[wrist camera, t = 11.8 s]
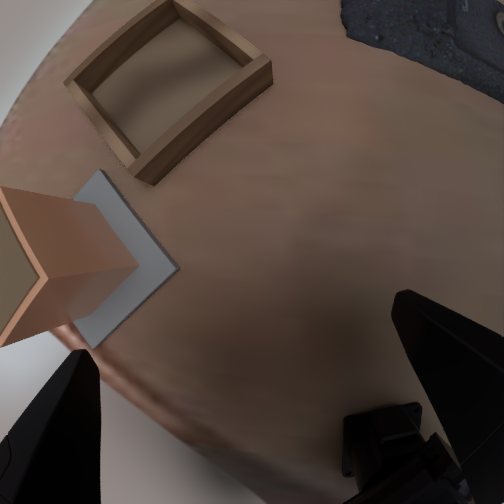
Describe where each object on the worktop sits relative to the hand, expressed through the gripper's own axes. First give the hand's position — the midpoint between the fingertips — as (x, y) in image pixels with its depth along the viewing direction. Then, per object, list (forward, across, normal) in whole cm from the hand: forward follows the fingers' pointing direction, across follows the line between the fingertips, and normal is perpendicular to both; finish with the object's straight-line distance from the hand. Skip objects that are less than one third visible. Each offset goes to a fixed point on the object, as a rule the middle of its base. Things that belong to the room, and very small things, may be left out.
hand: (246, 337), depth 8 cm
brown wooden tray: (+21, +2, -6) cm, 22 cm away
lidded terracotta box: (+15, +10, +5) cm, 19 cm away
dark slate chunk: (+19, -24, -12) cm, 33 cm away
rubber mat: (+16, +10, +5) cm, 19 cm away
